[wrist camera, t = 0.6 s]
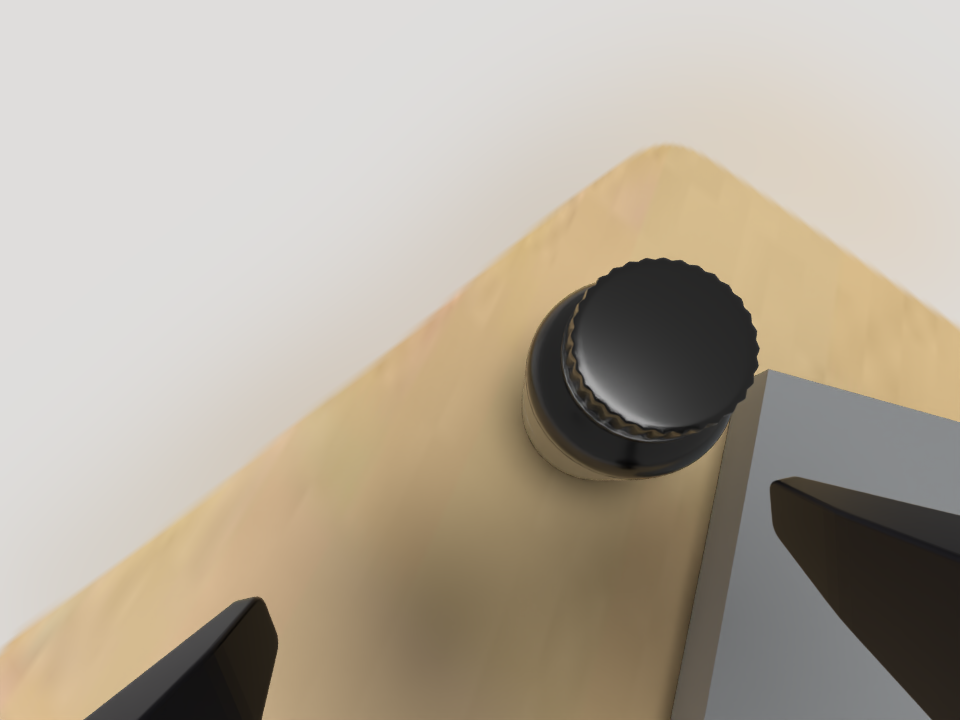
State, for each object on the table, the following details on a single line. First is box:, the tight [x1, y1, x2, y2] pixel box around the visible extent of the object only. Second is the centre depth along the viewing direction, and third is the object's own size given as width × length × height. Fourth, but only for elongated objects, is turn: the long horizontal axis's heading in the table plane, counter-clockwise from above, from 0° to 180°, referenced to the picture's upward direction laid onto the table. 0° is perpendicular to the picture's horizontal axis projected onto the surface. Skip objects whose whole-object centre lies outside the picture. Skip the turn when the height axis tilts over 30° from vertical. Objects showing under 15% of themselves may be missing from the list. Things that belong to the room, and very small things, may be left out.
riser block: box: [671, 369, 960, 720], centre depth 19 cm, size 16×13×3 cm
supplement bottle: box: [522, 258, 760, 480], centre depth 18 cm, size 7×7×12 cm
